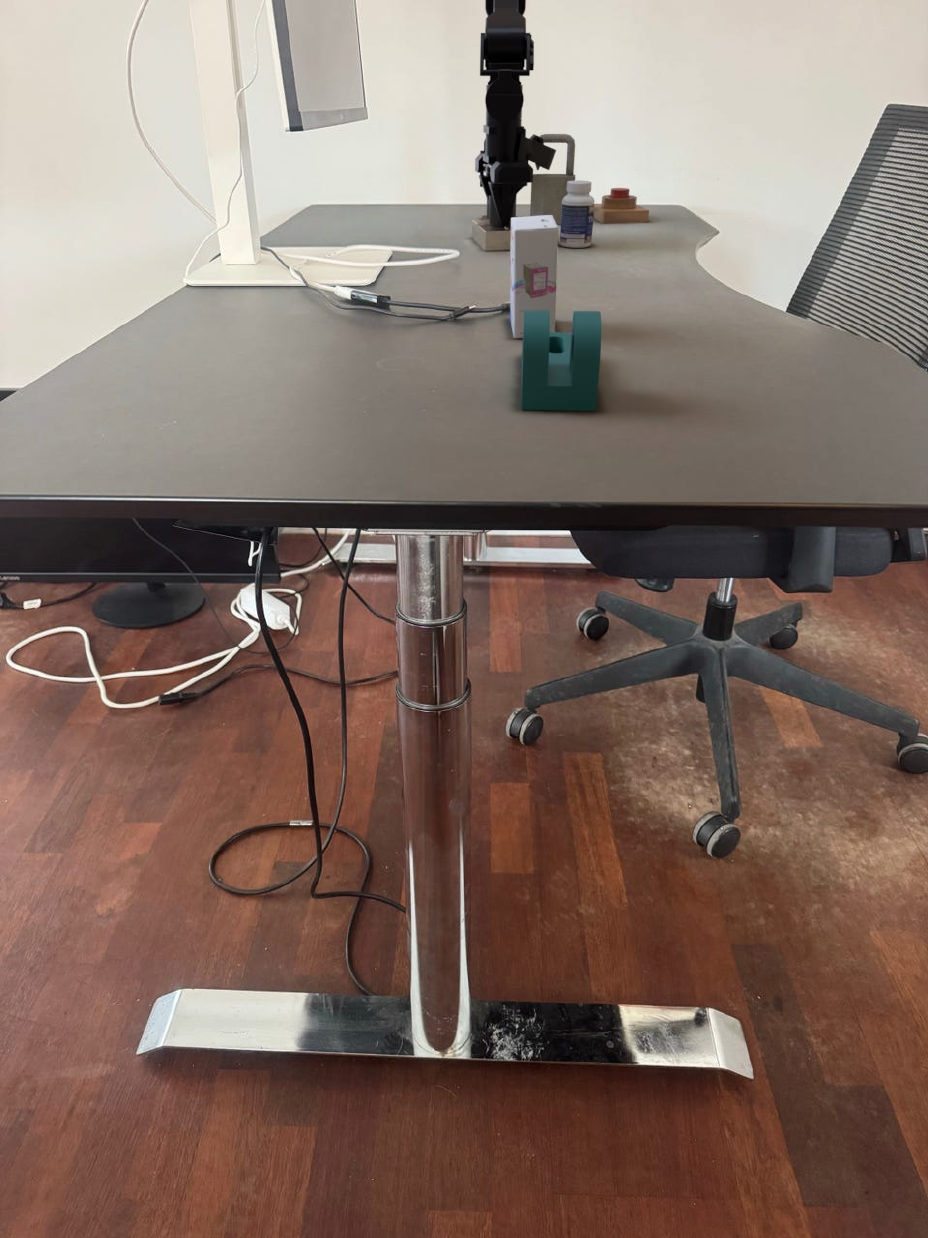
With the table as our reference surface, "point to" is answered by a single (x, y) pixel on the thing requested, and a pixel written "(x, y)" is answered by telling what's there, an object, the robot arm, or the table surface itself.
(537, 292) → the ink box
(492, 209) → the knob
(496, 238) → the beige flat rectangular block
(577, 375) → the bracket
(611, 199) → the wooden button base
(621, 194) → the button
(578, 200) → the pill bottle
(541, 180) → the padlock
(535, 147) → the robot arm
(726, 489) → the table surface
